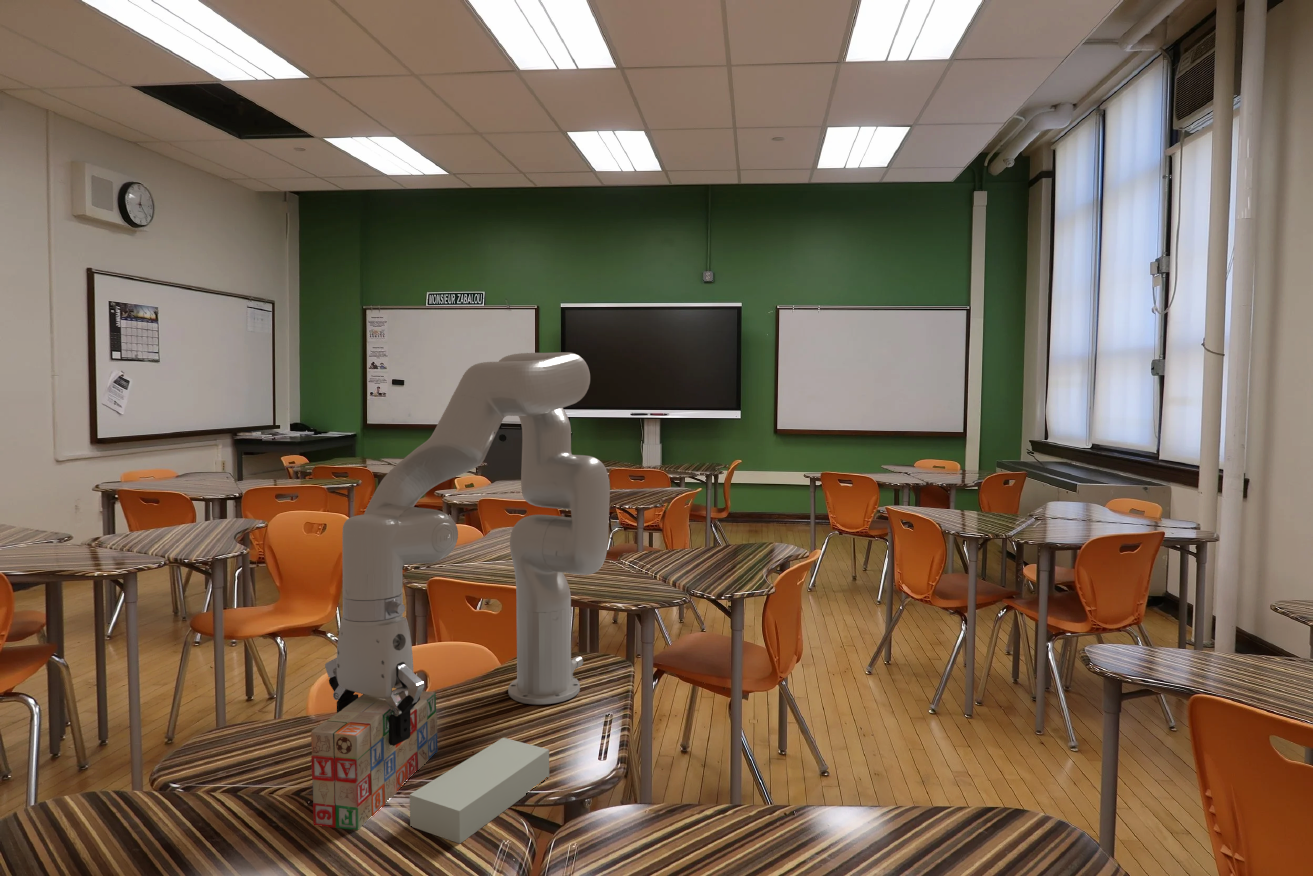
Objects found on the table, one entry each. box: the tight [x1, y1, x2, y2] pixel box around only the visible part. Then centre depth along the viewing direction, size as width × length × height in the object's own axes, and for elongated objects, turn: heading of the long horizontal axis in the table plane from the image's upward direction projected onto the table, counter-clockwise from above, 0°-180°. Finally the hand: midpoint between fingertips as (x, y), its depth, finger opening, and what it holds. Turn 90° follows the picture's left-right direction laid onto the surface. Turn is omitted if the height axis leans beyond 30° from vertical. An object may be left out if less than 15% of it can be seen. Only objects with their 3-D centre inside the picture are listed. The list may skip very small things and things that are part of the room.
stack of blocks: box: [310, 690, 439, 831], centre depth 106 cm, size 21×6×12 cm, turn 169°
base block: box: [409, 737, 550, 844], centre depth 103 cm, size 18×8×4 cm, turn 152°
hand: (373, 734), depth 105 cm, fingers open, 9 cm apart
